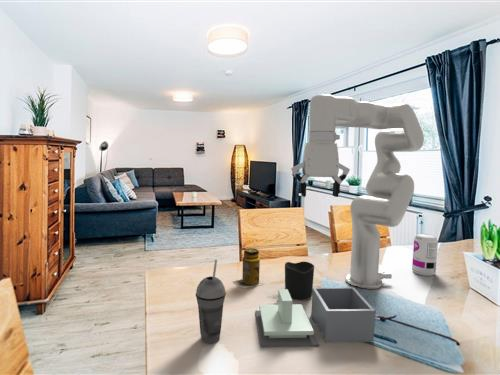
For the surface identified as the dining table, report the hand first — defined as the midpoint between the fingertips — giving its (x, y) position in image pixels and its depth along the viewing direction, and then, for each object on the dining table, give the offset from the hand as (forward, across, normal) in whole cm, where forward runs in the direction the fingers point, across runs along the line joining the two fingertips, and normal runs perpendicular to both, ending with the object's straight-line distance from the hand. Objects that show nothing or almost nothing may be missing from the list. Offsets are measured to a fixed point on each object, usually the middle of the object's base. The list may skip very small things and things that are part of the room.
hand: (319, 196), depth 96 cm
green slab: (+33, +12, +14) cm, 38 cm away
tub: (+33, -3, +14) cm, 36 cm away
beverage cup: (+34, +31, +19) cm, 49 cm away
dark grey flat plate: (+33, +12, +14) cm, 38 cm away
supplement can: (+34, -50, -26) cm, 66 cm away
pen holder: (+34, +4, -6) cm, 34 cm away
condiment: (+34, +20, -16) cm, 42 cm away
